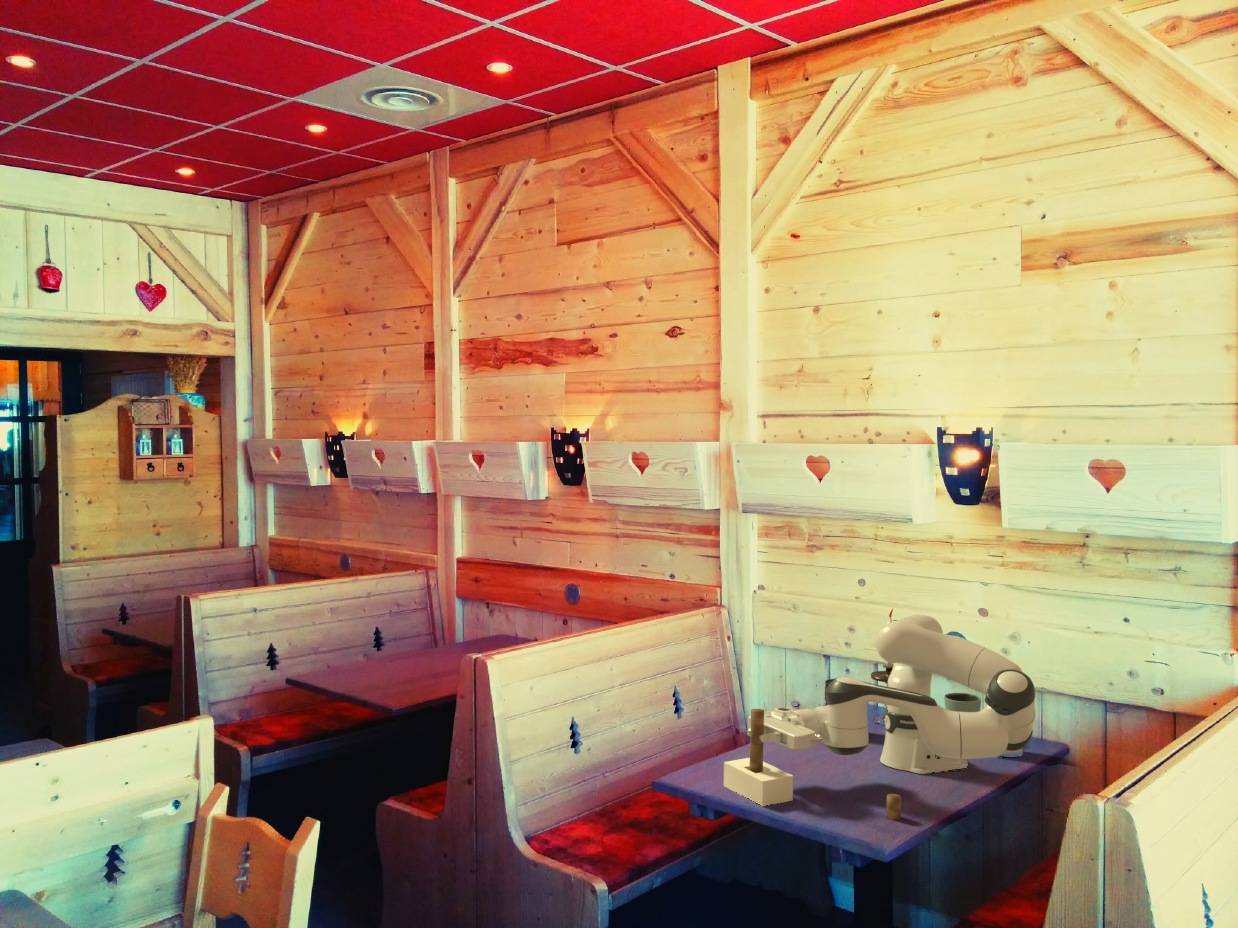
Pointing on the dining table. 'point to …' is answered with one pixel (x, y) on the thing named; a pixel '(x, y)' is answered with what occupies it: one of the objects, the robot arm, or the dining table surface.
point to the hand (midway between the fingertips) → (754, 735)
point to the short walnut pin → (893, 807)
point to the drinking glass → (962, 702)
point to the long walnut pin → (756, 740)
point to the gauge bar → (758, 782)
